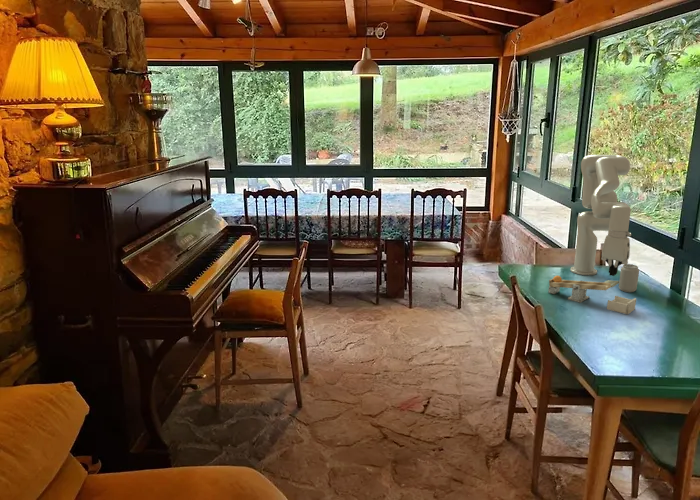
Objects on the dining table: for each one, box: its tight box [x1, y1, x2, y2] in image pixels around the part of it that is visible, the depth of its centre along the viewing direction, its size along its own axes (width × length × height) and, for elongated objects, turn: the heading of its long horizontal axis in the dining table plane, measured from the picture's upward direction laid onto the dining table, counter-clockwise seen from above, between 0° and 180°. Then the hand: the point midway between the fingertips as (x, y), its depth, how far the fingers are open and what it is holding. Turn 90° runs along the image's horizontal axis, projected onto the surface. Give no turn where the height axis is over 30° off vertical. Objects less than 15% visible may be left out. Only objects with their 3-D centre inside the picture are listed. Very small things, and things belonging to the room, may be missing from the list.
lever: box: [548, 278, 619, 291], centre depth 236 cm, size 25×14×3 cm, turn 43°
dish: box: [606, 295, 637, 316], centre depth 222 cm, size 8×8×5 cm
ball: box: [552, 275, 563, 283], centre depth 240 cm, size 4×4×4 cm
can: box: [618, 263, 640, 293], centre depth 244 cm, size 8×8×12 cm
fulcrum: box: [547, 284, 590, 304], centre depth 237 cm, size 16×11×7 cm, turn 44°
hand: (612, 275), depth 229 cm, fingers closed
